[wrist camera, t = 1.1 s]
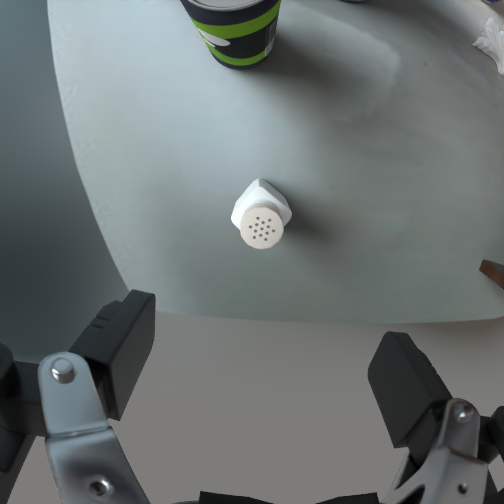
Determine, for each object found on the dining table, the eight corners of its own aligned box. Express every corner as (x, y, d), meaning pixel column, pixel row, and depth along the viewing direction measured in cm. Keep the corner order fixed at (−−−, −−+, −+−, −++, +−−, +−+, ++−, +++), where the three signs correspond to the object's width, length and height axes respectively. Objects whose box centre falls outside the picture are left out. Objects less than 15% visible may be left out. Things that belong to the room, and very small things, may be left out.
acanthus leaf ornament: (470, 44, 22) (478, 41, 21) (479, 13, 20) (486, 10, 18) (506, 81, 23) (515, 80, 21) (514, 49, 21) (522, 47, 19)
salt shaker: (258, 174, 30) (258, 190, 21) (288, 199, 31) (301, 226, 22) (233, 204, 31) (222, 232, 22) (263, 228, 32) (264, 265, 23)
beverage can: (253, 10, 23) (249, -74, 9) (284, 54, 25) (306, -13, 11) (199, 36, 24) (155, -33, 10) (229, 81, 26) (203, 32, 12)
